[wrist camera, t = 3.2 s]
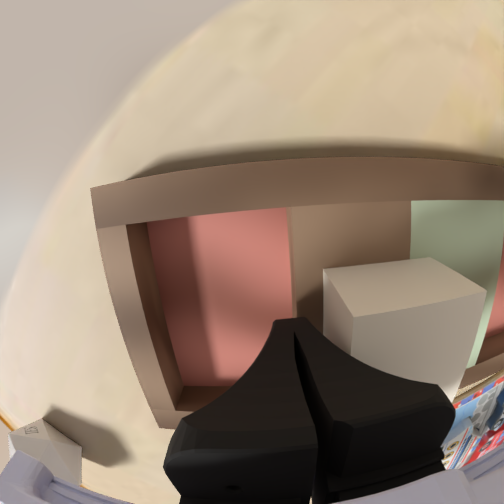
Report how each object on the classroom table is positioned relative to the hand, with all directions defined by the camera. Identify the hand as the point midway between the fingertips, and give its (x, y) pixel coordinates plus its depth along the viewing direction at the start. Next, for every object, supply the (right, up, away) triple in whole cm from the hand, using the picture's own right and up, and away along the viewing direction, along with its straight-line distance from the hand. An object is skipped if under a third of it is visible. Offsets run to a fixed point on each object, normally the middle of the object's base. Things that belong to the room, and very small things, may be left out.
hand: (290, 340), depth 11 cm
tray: (+6, +1, +3) cm, 7 cm away
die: (-21, -16, +9) cm, 28 cm away
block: (+4, +1, +1) cm, 4 cm away
